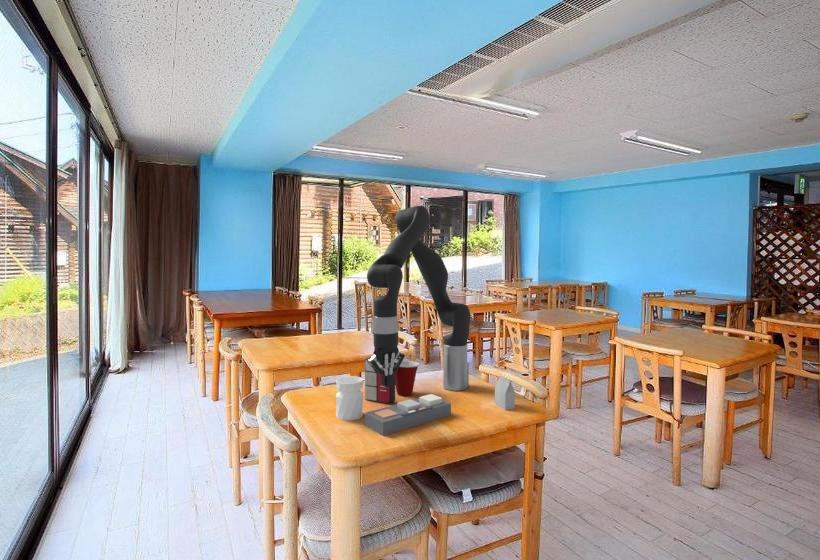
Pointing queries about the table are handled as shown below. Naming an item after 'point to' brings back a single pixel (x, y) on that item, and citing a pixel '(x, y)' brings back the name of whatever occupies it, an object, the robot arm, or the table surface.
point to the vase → (349, 398)
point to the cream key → (430, 400)
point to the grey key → (408, 405)
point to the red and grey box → (378, 386)
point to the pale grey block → (504, 393)
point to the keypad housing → (406, 417)
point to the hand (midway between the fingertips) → (386, 386)
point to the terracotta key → (385, 413)
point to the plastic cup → (405, 377)
